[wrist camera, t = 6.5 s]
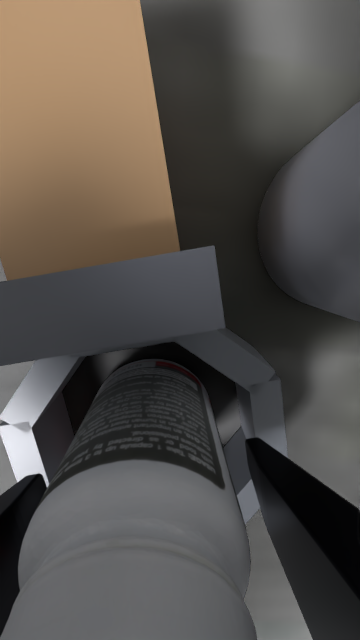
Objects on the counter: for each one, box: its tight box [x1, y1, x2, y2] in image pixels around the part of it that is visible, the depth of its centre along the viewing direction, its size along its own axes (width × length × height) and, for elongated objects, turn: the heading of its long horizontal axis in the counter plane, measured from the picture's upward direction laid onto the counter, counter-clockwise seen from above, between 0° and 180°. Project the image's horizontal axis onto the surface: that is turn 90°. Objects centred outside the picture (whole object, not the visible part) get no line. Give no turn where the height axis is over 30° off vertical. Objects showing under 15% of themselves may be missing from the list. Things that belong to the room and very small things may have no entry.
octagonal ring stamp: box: [0, 0, 288, 524], centre depth 8 cm, size 16×9×5 cm, turn 9°
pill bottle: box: [0, 359, 257, 640], centre depth 8 cm, size 5×5×8 cm
